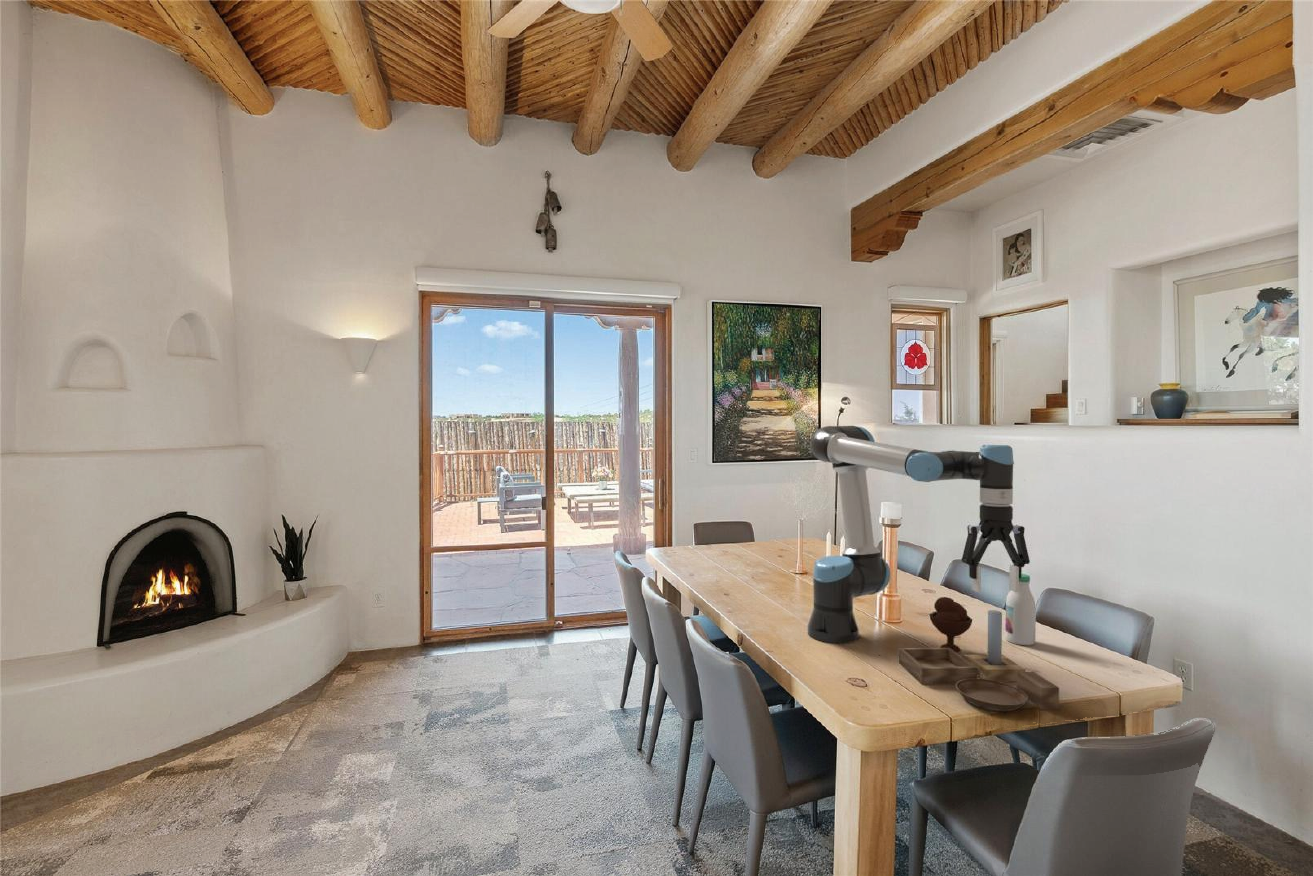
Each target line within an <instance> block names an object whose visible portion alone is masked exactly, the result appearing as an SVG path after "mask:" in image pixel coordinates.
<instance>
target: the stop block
mask: <svg viewBox="0 0 1313 876" xmlns="http://www.w3.org/2000/svg"><path fill="white" fill-rule="evenodd" d="M1016 683H1017V684H1016V685H1017V687H1016V688H1018V689H1020V690H1022V691H1023V692H1024V693H1025V694H1026V695H1027V697H1028V700H1027V701H1029V702H1030V703H1032V704H1033V705H1034V706H1036V707H1037V708H1039V709H1040V711H1041V710H1059V709H1060V707H1059V706H1060V687H1058V686H1057V685H1056V684H1054V683H1053V682H1051V681H1049V680H1048V679H1046V678H1045V677H1043V676H1042V675H1040V674H1039V673H1037V672H1035V671H1025V672H1017V681H1016Z"/></svg>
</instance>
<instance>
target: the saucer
mask: <svg viewBox="0 0 1313 876" xmlns="http://www.w3.org/2000/svg"><path fill="white" fill-rule="evenodd" d="M955 688H956V690H957V691H958V693H959V694H960V696H962V698H963V699H964V700H966V701H967V702H968V703H970V704H972V705H973V706H975V707H979V708H980V709H981V708H982V709H984V710H989V711H994V712H1012V711H1015V710H1017V709H1020V708H1021V707H1022V706H1023V705H1024V704H1026V703H1027V701H1029V700H1028V697H1027V695H1026V694H1025V693H1024V692H1023V691H1022V690H1020V689H1018V688H1017V687H1016V686H1013V685H1011V684H1008V683H1005V682H1003V681H993V680H987V679H982V678H977V679H964V680H961V681H958V682H957V683H956V684H955Z"/></svg>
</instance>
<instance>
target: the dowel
mask: <svg viewBox="0 0 1313 876" xmlns="http://www.w3.org/2000/svg"><path fill="white" fill-rule="evenodd" d="M1002 633H1003V612H1002V611H999V610H996V609H995V610H994V609H991V610H988V611H987V654H986V655H987V663H988V664H990V665H1001V662H1002V655H1003V654H1002V653H1003V652H1002V651H1003V650H1002V647H1003V646H1002V645H1003V644H1002V641H1003V640H1002V639H1003V638H1002V637H1003V636H1002V635H1003V634H1002Z"/></svg>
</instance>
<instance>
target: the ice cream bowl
mask: <svg viewBox="0 0 1313 876" xmlns="http://www.w3.org/2000/svg"><path fill="white" fill-rule="evenodd" d="M934 609H935V611H933V612H931V613H930V614H929V618H930V621H931V623H932V625H933V626H934V627H935V629H937V631H939V632H940V633H941V634H942V635H944V636H946V638H947V639H946V643H943V644H941V645H940V646H939V648H951V649H952V650H953V651H955V652H956V653H958V654H959V653H961V652H962V649H961V648H960V646H958V645H957V644H955V637H958V636H961V635H963V634H964V633H966V632H967V631H969V629H970V628H971V626H972V622H973V619H972V618H971V617H970V616H969V615H968V611H967V610H966V608H965V607H964V606H963V605H962V604H960V603H959V602H957V601H955V600H954V599H953V598H951V597H947V596H941V597H939V598H937V599H936V600H935V602H934Z"/></svg>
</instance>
